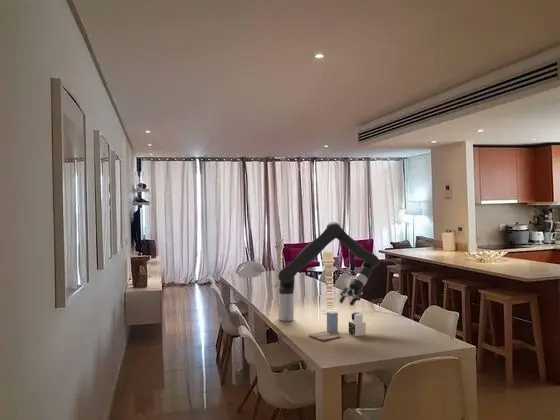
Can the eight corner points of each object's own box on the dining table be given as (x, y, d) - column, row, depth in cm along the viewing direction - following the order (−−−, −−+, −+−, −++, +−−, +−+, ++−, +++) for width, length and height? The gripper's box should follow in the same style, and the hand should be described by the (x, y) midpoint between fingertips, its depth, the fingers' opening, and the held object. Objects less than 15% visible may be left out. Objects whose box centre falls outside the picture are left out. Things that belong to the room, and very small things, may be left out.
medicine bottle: (348, 333, 259) (348, 312, 259) (359, 332, 261) (359, 311, 261) (354, 336, 252) (354, 315, 252) (365, 335, 255) (365, 314, 255)
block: (326, 331, 263) (326, 312, 263) (332, 329, 266) (332, 311, 266) (332, 332, 260) (332, 313, 260) (337, 331, 263) (337, 312, 262)
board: (308, 336, 252) (308, 334, 252) (324, 332, 259) (324, 331, 259) (323, 341, 243) (323, 339, 243) (339, 337, 250) (339, 336, 250)
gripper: (347, 277, 280) (334, 297, 274) (364, 280, 269) (351, 301, 262) (353, 284, 284) (340, 305, 277) (370, 288, 272) (357, 309, 266)
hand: (345, 303), depth 270 cm, fingers open, 8 cm apart
